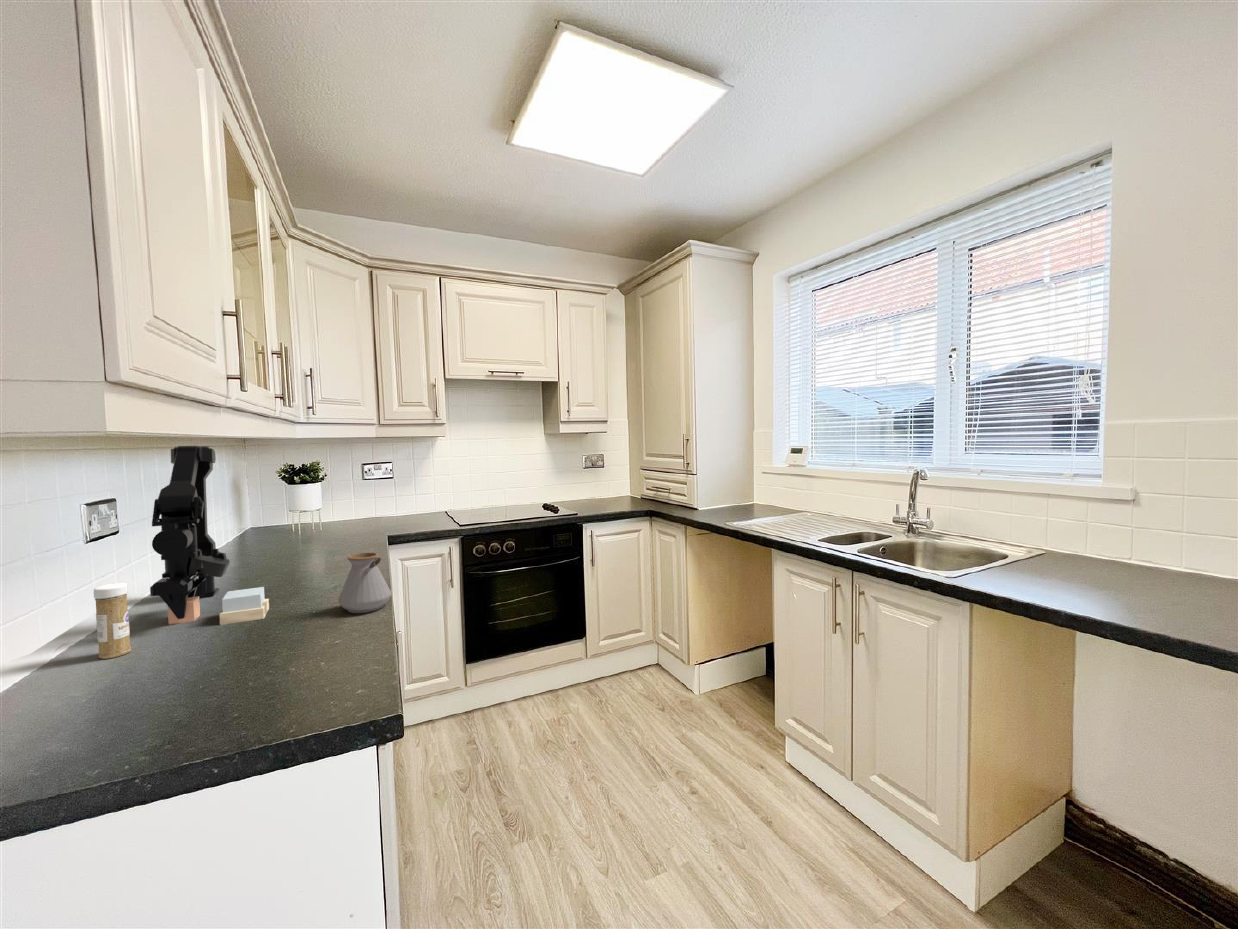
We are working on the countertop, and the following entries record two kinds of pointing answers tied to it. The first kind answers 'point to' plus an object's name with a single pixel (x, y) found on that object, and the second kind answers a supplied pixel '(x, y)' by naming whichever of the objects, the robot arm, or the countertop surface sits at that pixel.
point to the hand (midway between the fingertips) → (184, 615)
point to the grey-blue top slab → (243, 599)
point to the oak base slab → (245, 614)
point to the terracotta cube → (190, 613)
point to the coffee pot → (364, 585)
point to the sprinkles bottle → (112, 620)
